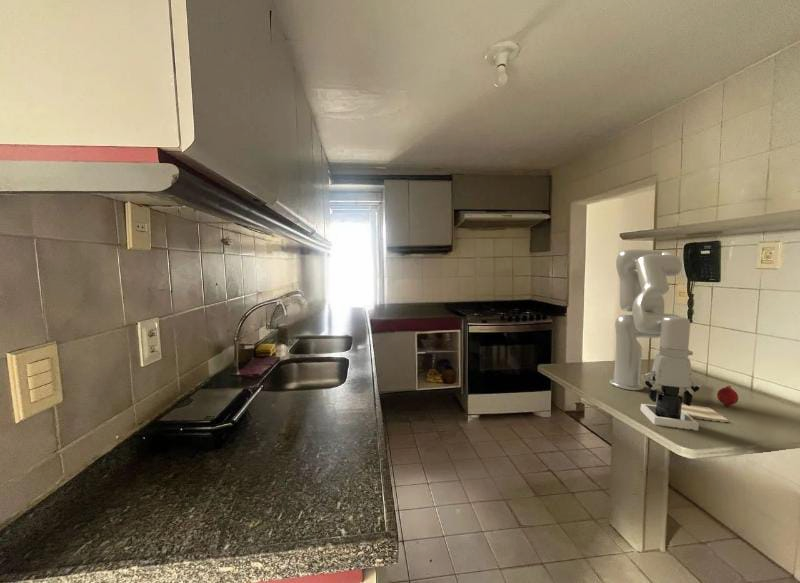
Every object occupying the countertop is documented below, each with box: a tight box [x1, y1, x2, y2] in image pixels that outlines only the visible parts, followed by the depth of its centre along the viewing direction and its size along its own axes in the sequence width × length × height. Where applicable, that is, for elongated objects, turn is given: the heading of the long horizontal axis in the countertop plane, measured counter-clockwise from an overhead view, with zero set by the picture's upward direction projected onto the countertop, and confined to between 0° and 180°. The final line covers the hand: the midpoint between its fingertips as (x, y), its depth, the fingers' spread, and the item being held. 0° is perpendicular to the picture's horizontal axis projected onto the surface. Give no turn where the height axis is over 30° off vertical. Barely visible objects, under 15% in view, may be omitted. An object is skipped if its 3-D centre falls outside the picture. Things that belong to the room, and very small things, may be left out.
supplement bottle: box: [654, 385, 683, 420], centre depth 115 cm, size 7×7×12 cm
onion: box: [716, 385, 739, 407], centre depth 129 cm, size 6×6×8 cm
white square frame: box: [640, 403, 700, 431], centre depth 116 cm, size 12×12×2 cm
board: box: [682, 403, 729, 423], centre depth 122 cm, size 11×12×1 cm
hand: (669, 402), depth 115 cm, fingers open, 9 cm apart
